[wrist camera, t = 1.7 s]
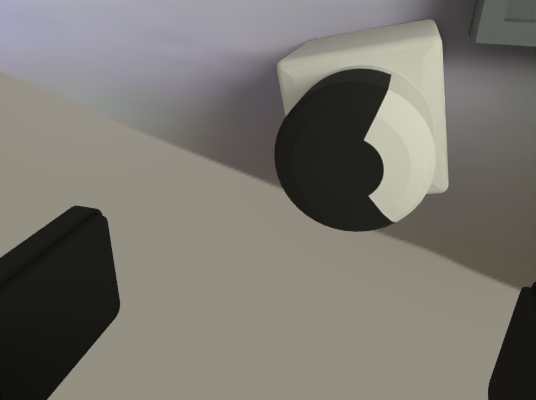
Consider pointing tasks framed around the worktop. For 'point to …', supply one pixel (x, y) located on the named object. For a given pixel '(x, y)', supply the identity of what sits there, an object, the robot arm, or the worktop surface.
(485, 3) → the tray
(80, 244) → the robot arm
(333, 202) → the medicine bottle
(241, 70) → the worktop surface
